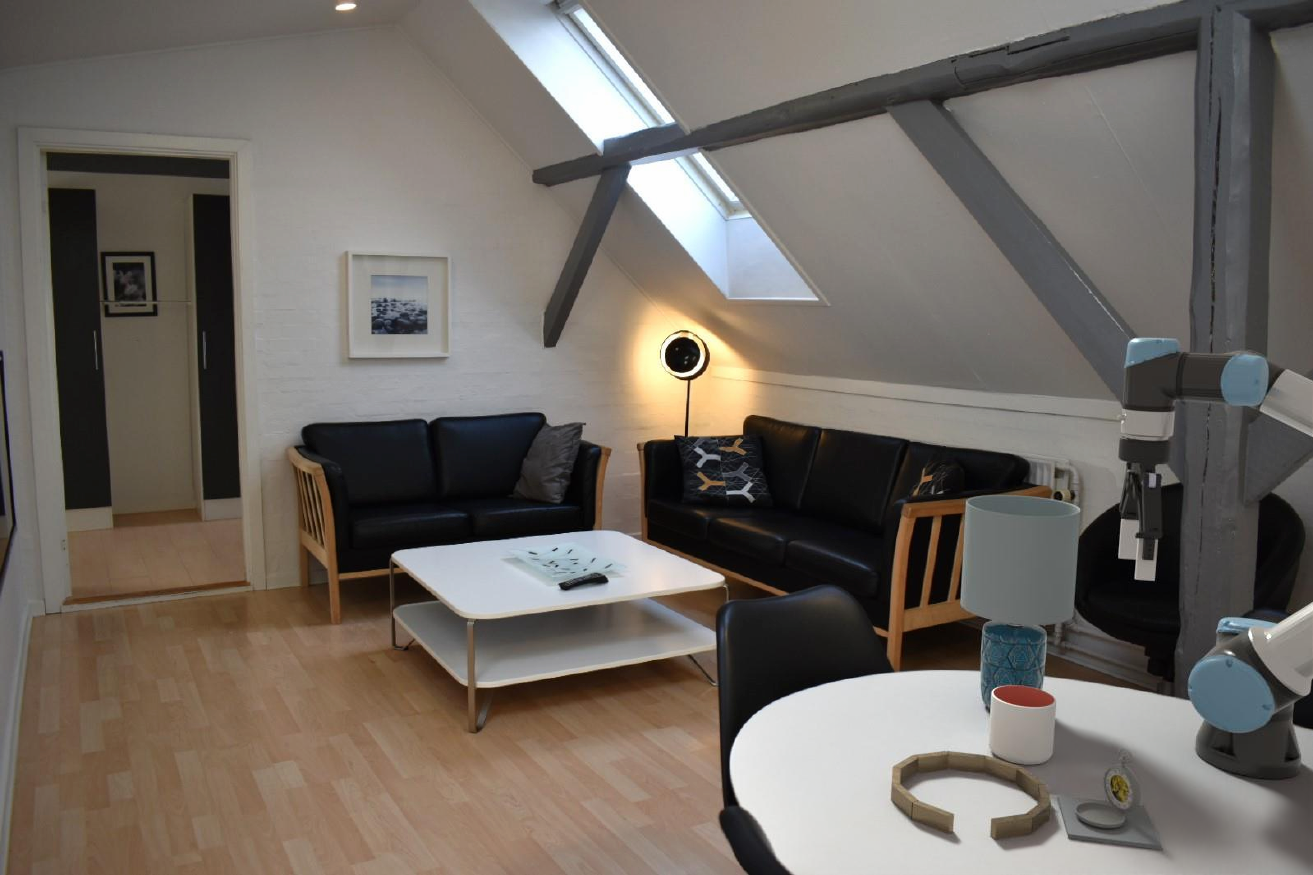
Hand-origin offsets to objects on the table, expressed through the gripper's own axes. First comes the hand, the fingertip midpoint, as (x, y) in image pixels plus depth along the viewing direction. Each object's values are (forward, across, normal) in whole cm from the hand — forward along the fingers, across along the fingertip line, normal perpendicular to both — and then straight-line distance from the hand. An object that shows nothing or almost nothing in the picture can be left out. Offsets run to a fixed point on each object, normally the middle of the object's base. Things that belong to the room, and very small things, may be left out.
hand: (1135, 568), depth 170 cm
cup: (+32, +3, -16) cm, 36 cm away
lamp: (+32, -17, -16) cm, 40 cm away
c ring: (+32, +22, -25) cm, 46 cm away
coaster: (+32, +24, -6) cm, 40 cm away
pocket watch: (+31, +24, -6) cm, 40 cm away
